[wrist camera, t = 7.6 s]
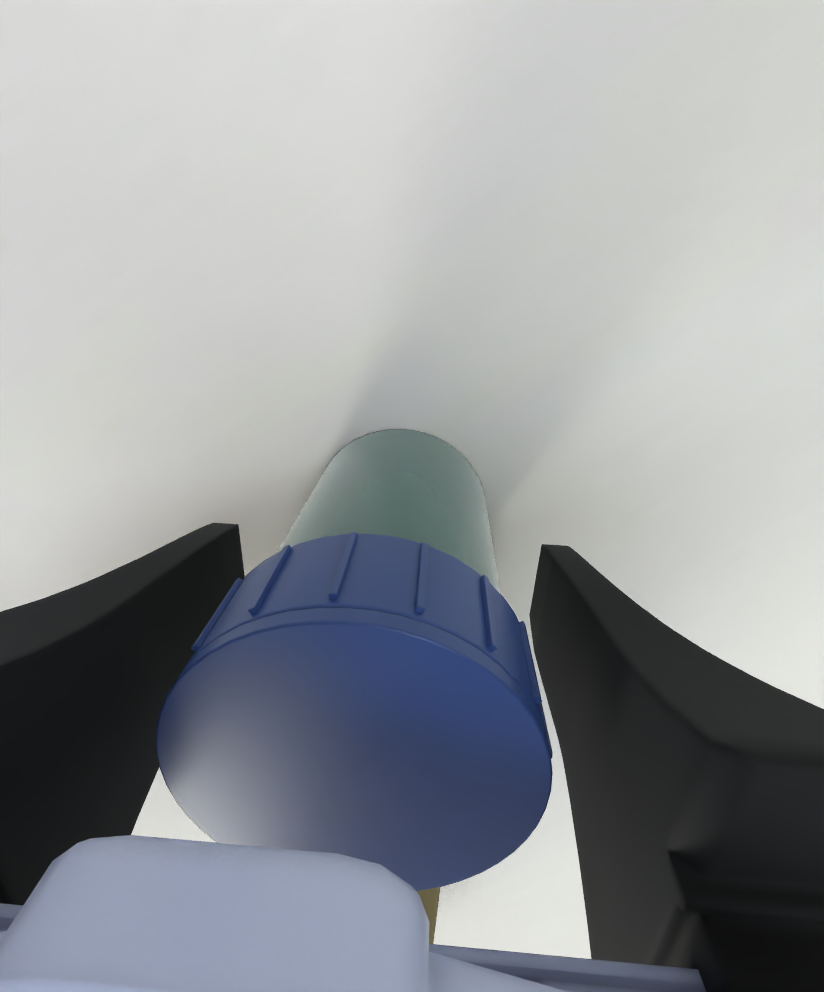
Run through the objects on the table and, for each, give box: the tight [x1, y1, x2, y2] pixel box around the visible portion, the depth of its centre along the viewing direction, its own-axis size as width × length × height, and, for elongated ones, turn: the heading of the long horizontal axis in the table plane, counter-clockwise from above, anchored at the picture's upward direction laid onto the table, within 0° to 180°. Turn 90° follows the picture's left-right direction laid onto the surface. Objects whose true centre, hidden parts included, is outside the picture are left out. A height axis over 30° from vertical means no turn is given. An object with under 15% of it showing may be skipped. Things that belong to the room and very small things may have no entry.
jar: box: [276, 429, 501, 594], centre depth 11 cm, size 5×5×8 cm
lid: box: [156, 532, 552, 891], centre depth 8 cm, size 6×6×2 cm
